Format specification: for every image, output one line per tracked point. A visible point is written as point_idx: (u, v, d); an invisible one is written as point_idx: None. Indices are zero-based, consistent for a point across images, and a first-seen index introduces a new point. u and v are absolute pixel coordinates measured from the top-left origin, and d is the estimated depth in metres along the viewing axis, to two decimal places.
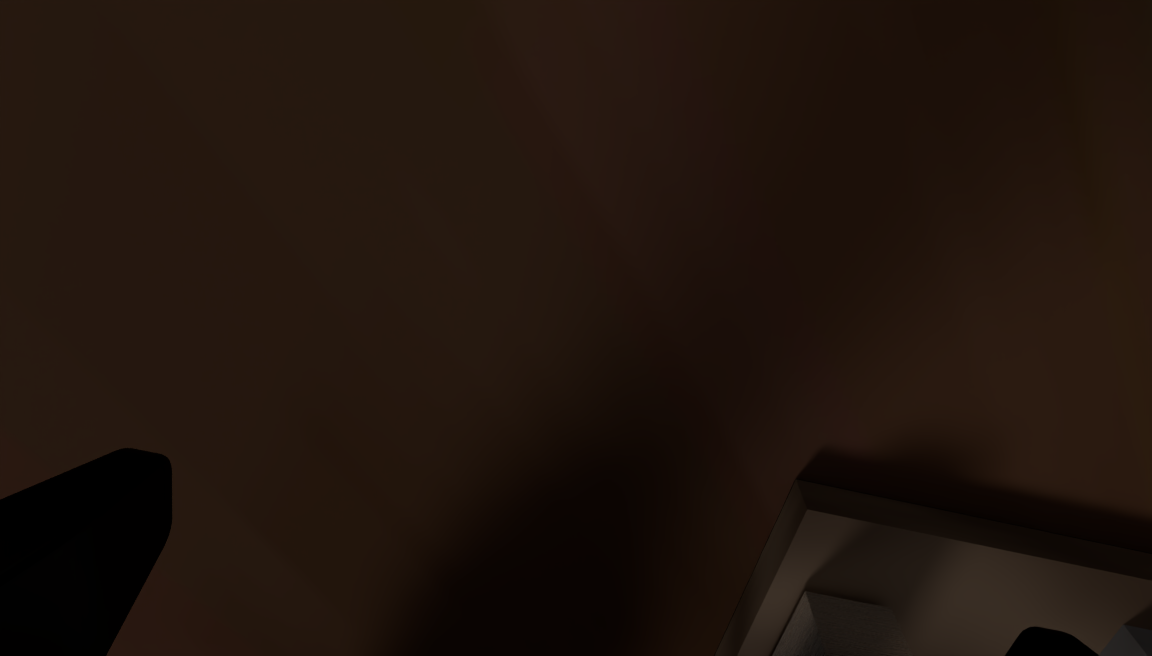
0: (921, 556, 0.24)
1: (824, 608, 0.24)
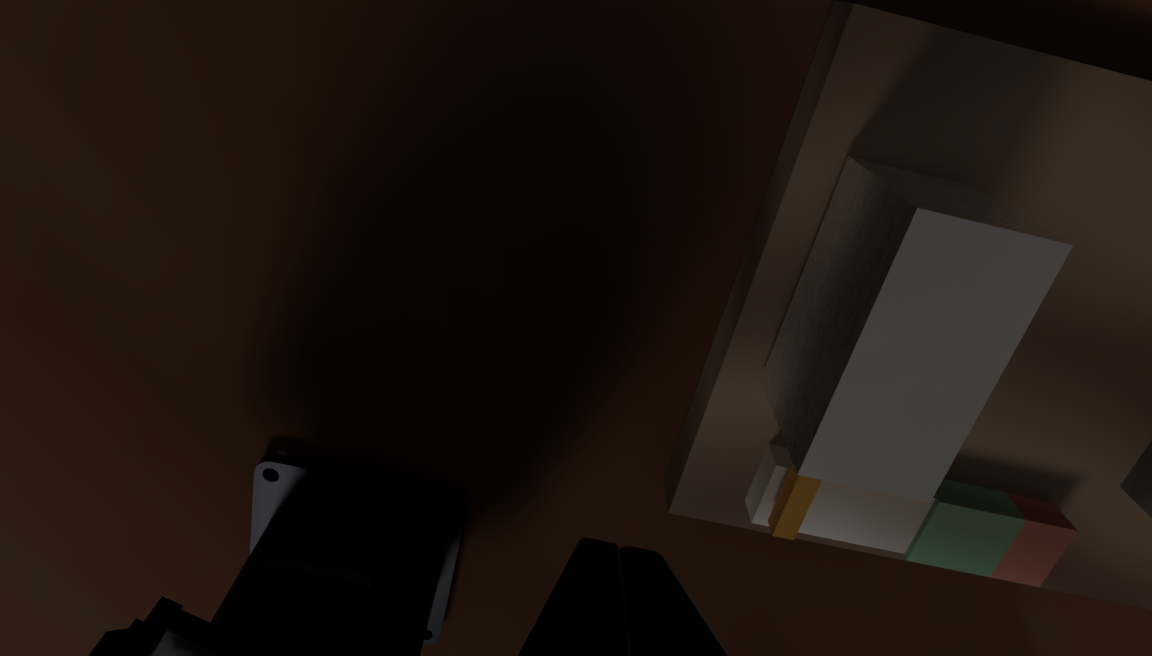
0: (1019, 93, 0.16)
1: (878, 167, 0.16)
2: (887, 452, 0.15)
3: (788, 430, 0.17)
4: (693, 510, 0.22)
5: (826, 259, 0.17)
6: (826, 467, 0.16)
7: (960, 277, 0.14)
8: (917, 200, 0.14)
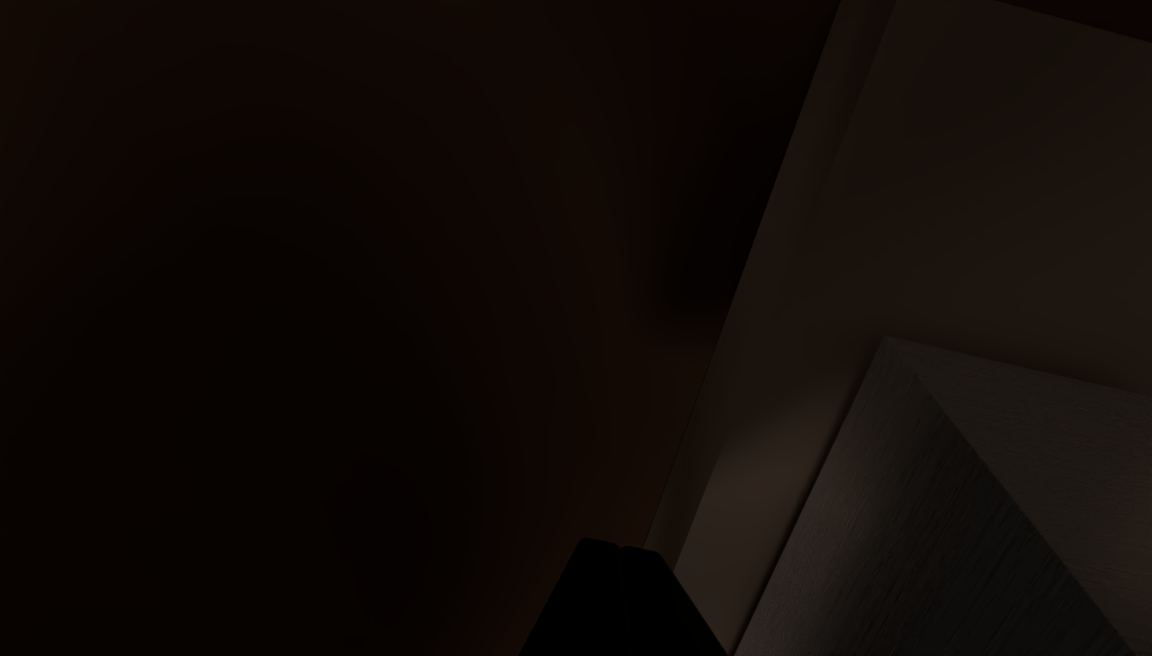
0: None
1: (959, 376, 0.07)
2: None
3: None
4: None
5: (832, 578, 0.07)
6: None
7: None
8: (1131, 599, 0.04)
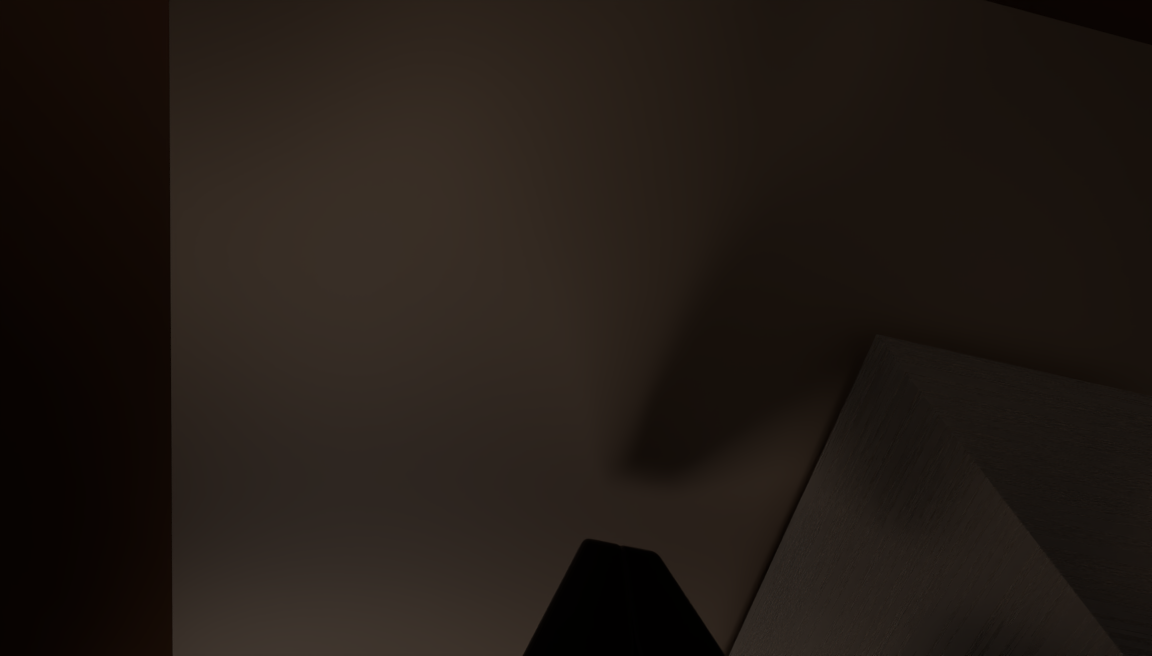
0: (667, 37, 0.06)
1: (950, 375, 0.07)
2: None
3: None
4: None
5: (825, 576, 0.07)
6: None
7: None
8: (1116, 595, 0.04)
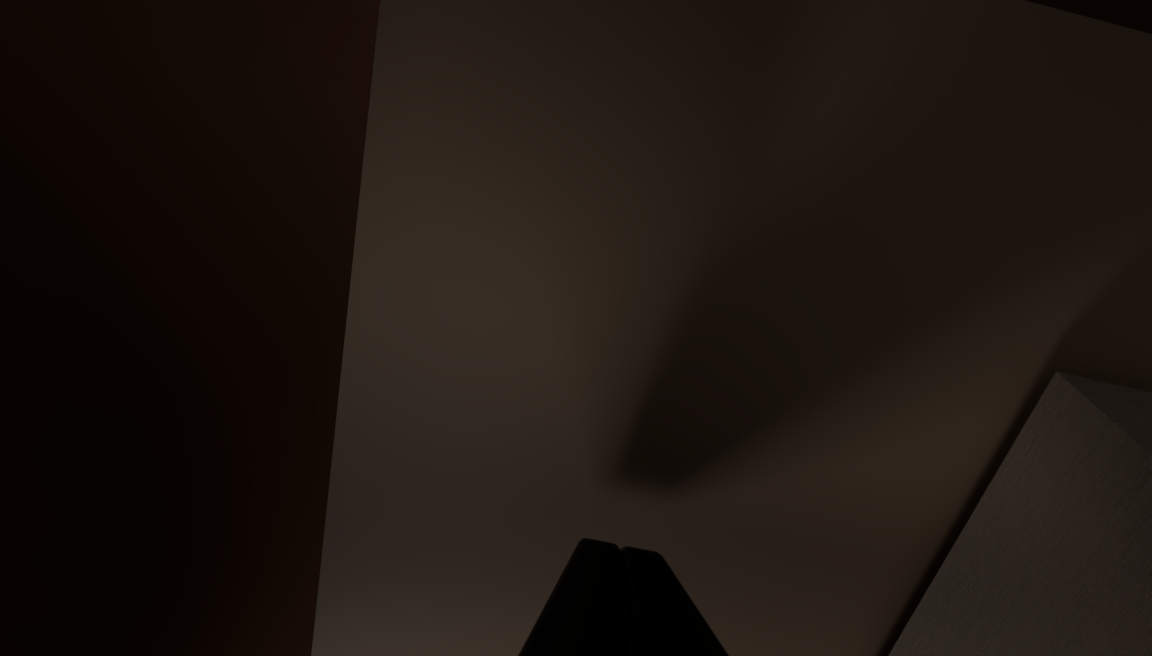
0: (870, 82, 0.06)
1: (1143, 415, 0.07)
2: None
3: None
4: None
5: (1008, 613, 0.07)
6: None
7: None
8: None
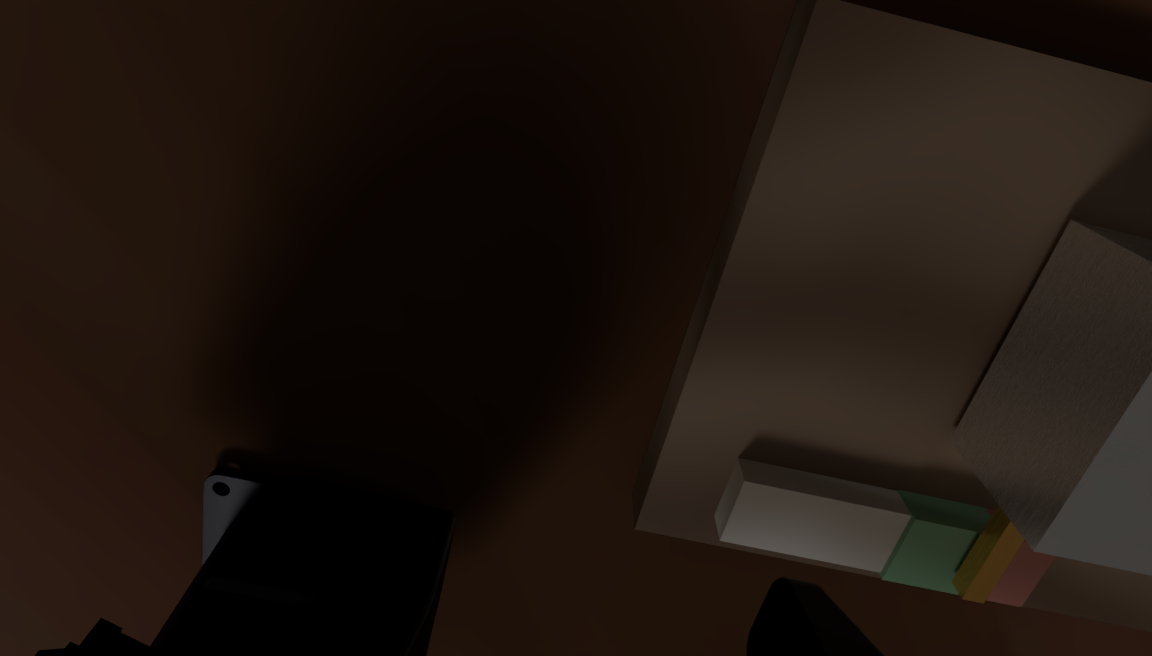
0: (995, 90, 0.16)
1: (1108, 233, 0.16)
2: (1130, 529, 0.15)
3: (1010, 500, 0.16)
4: (660, 526, 0.21)
5: (1049, 326, 0.16)
6: (1064, 544, 0.15)
7: None
8: None
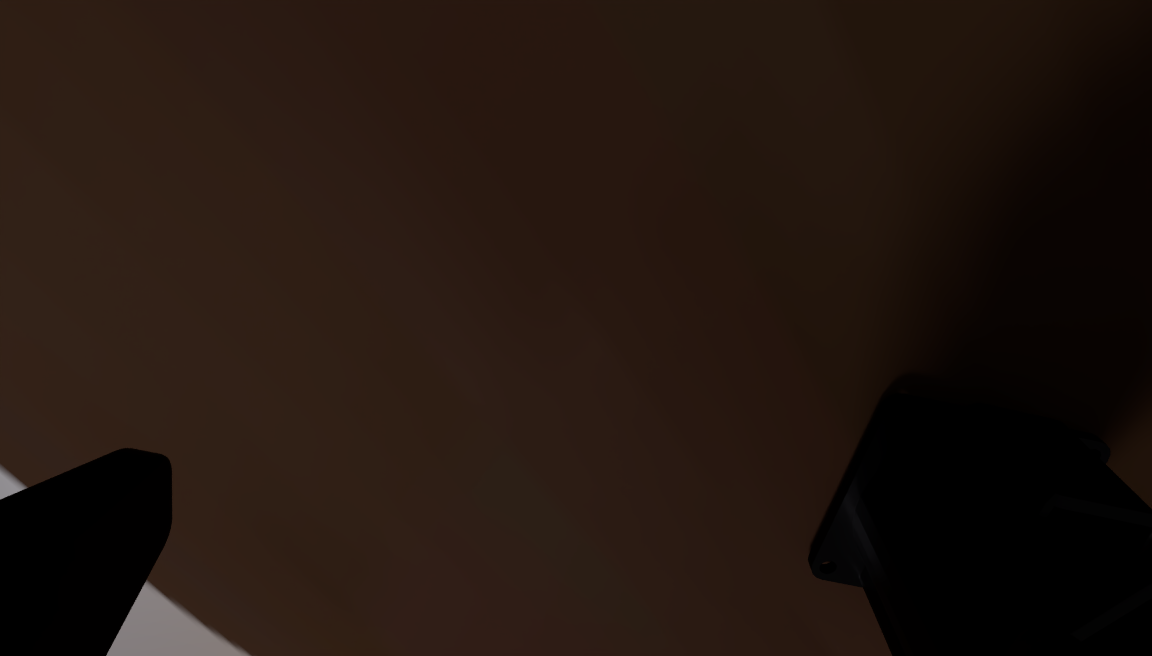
0: None
1: None
2: None
3: None
4: None
5: None
6: None
7: None
8: None
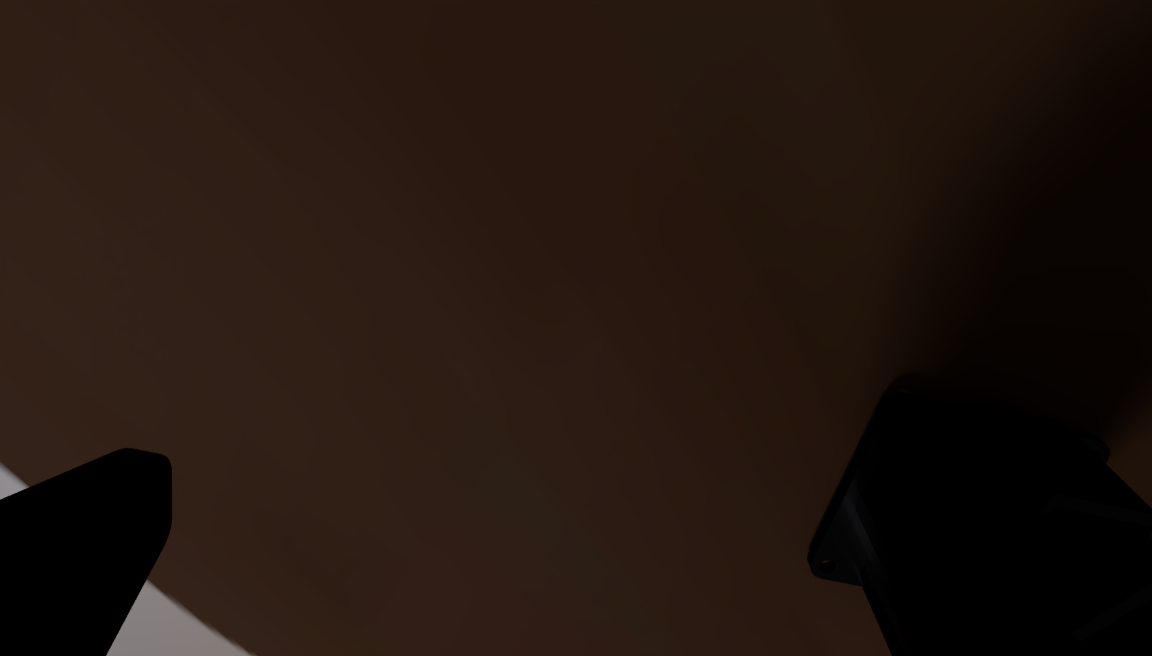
0: None
1: None
2: None
3: None
4: None
5: None
6: None
7: None
8: None
